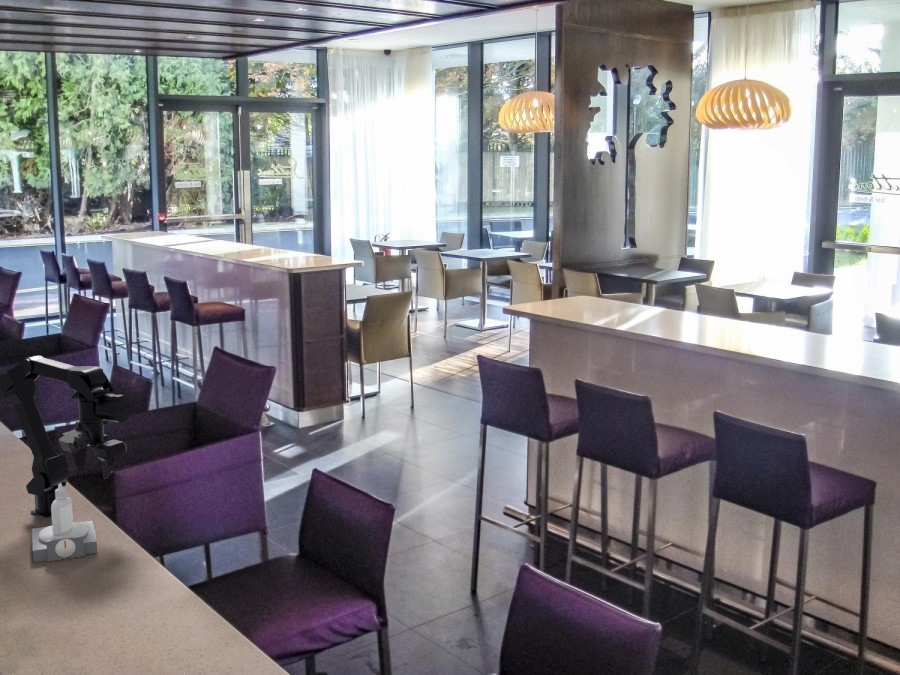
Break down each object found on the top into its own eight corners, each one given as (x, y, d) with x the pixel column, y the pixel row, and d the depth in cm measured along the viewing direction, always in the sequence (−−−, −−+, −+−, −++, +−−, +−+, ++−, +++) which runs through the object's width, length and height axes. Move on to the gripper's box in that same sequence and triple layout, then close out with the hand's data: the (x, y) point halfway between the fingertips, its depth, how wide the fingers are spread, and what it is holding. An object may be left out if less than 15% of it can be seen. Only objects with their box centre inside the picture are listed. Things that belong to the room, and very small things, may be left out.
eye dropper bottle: (78, 530, 226) (75, 483, 224) (56, 537, 222) (53, 489, 220) (69, 525, 229) (66, 479, 227) (47, 532, 225) (44, 485, 223)
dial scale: (32, 540, 230) (31, 521, 229) (93, 531, 236) (92, 513, 235) (33, 564, 217) (32, 544, 216) (97, 554, 222) (96, 535, 221)
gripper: (39, 417, 234) (42, 476, 237) (90, 430, 225) (92, 492, 228) (76, 408, 244) (79, 465, 247) (126, 420, 235) (128, 479, 238)
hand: (93, 475), depth 240 cm, fingers open, 9 cm apart
